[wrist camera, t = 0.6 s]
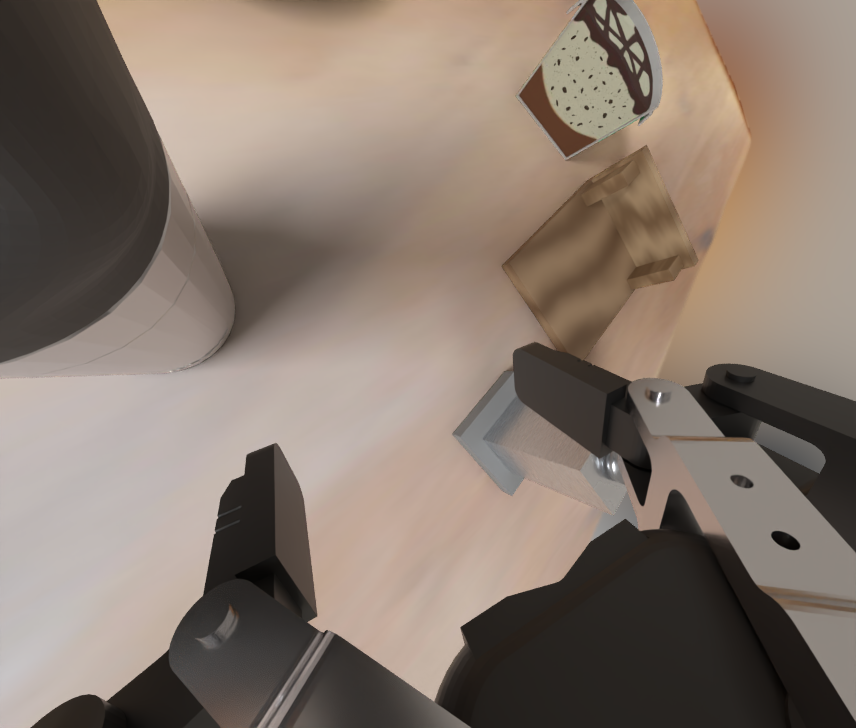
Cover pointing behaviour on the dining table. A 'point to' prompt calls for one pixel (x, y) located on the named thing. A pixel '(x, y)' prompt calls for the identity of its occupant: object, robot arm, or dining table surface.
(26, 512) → the dining table surface
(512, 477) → the stand
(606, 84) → the food container
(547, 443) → the block
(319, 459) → the dining table surface
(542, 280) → the dock
